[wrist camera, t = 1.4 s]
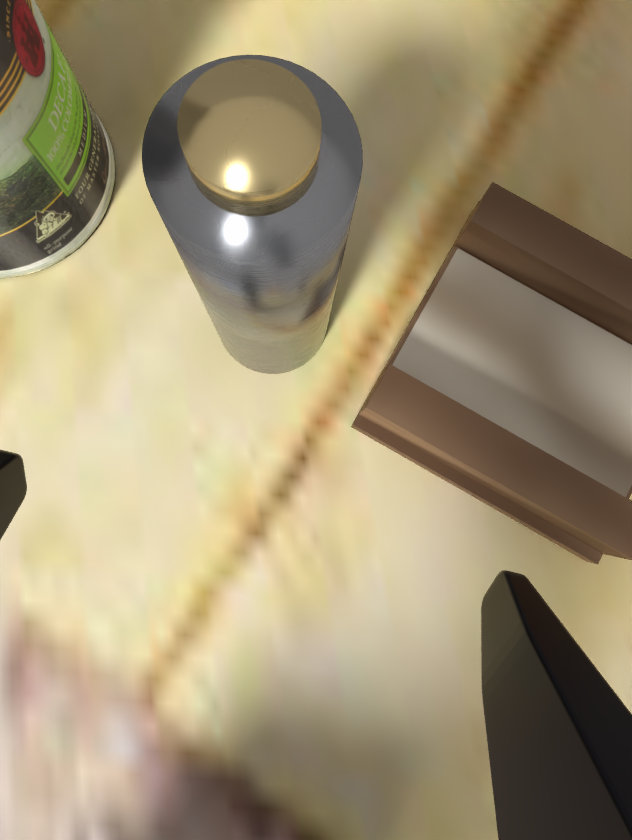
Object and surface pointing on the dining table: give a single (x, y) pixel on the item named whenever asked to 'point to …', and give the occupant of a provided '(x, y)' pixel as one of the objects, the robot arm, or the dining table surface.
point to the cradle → (521, 377)
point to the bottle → (257, 199)
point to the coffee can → (45, 148)
